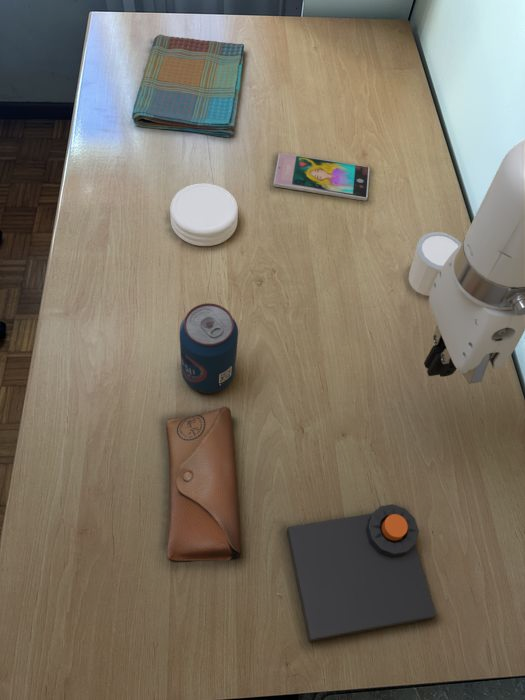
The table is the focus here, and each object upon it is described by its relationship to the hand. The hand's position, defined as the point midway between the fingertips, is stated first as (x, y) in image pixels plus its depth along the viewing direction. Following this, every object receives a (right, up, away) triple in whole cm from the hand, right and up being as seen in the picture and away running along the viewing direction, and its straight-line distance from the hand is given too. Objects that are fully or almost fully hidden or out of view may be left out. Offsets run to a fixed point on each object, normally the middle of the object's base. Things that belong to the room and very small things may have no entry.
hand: (438, 368), depth 74 cm
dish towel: (-32, +48, +42) cm, 71 cm away
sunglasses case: (-27, -14, +5) cm, 31 cm away
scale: (-9, -23, +1) cm, 25 cm away
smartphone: (-10, +30, +33) cm, 45 cm away
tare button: (-5, -18, +1) cm, 19 cm away
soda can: (-27, -1, +13) cm, 30 cm away
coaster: (-29, +21, +26) cm, 44 cm away
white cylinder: (+5, +12, +24) cm, 27 cm away
